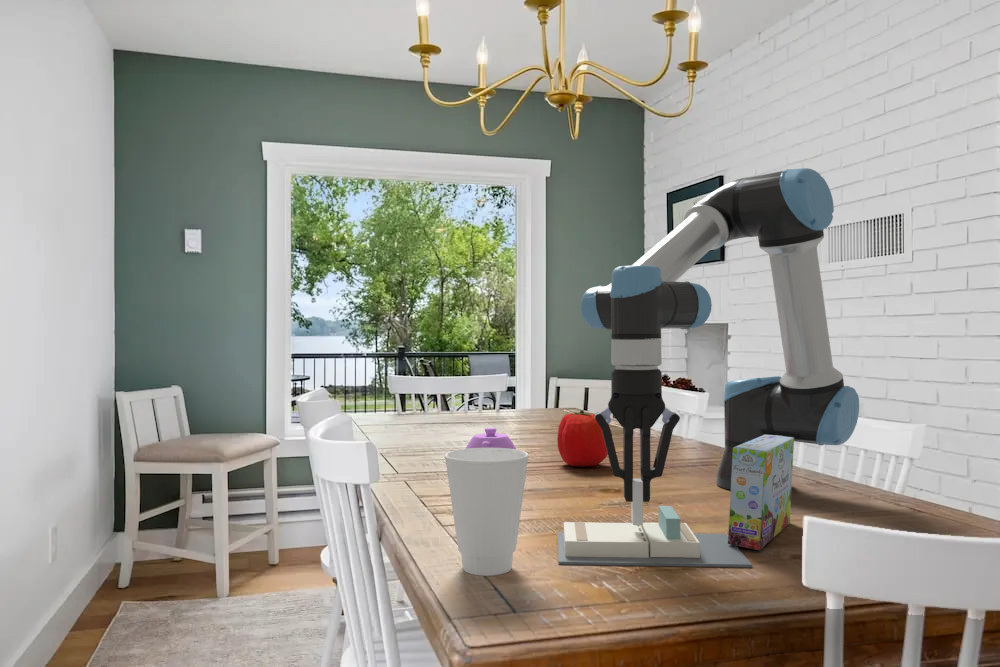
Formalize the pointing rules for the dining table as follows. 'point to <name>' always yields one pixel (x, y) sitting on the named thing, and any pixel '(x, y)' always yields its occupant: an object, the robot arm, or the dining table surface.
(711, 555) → the board
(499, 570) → the cup
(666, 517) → the stub
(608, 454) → the robot arm
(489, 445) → the teapot
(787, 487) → the snack box
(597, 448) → the tomato
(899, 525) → the dining table surface
